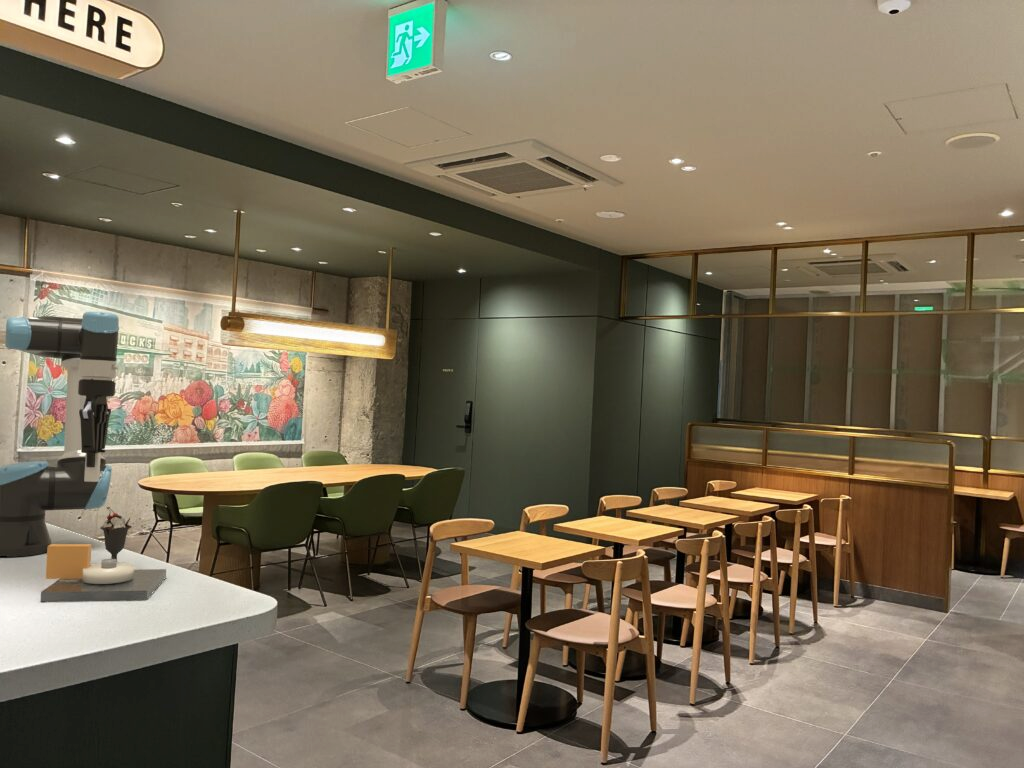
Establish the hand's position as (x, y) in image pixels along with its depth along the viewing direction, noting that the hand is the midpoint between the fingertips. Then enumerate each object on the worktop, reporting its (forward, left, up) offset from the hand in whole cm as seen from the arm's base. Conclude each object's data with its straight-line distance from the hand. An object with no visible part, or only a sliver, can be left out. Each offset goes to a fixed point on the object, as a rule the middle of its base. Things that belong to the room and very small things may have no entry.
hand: (91, 481), depth 178 cm
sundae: (-11, +3, -23) cm, 25 cm away
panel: (+10, +7, -22) cm, 26 cm away
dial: (+10, +3, -20) cm, 23 cm away
